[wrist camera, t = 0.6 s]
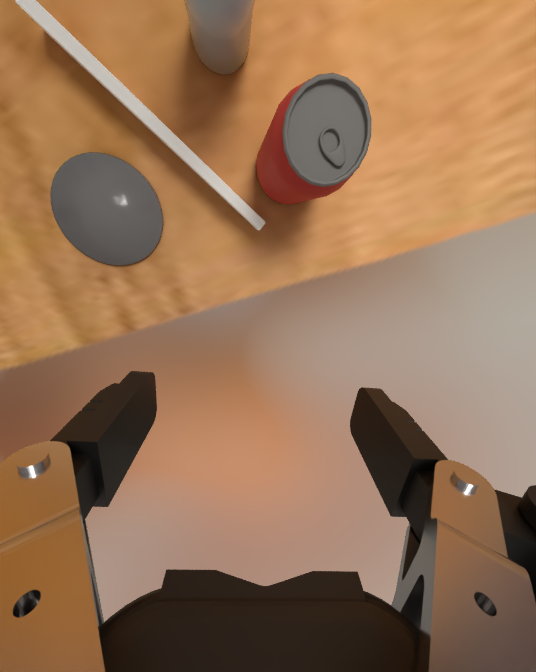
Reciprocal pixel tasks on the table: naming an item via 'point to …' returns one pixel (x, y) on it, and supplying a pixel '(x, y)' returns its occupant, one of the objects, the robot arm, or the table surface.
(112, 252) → the coaster
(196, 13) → the grey bottle
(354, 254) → the table surface
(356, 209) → the table surface
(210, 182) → the wall
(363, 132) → the beer can
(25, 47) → the table surface
